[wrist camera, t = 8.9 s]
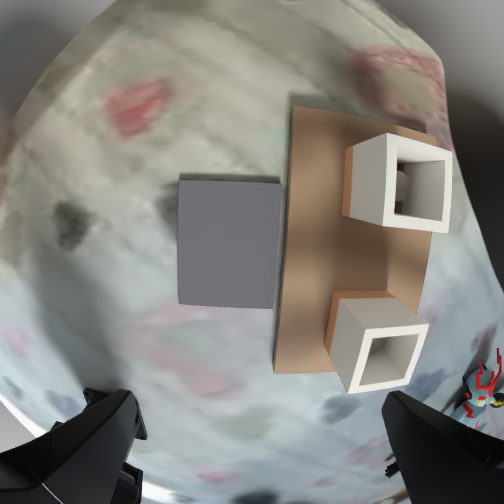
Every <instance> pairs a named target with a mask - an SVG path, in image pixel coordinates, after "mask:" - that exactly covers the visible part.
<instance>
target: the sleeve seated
mask: <svg viewBox="0 0 504 504" xmlns="http://www.w3.org/2000/svg"><path fill="white" fill-rule="evenodd" d="M428 327H429V323H428V322H427V321H425V320H424V319H423V318H422V317H420V316H419V315H418V314H417V313H415V312H414V311H413V310H411V309H410V308H409V307H407V306H406V305H405V304H404V303H402V302H401V301H400V300H398V299H397V298H396V297H394V296H393V295H392V294H390V293H389V292H388V291H333V296H332V302H331V308H330V315H329V320H328V326H327V332H326V337H325V342H324V347H325V349H326V351H327V353H328V355H329V357H330V359H331V361H332V363H333V365H334V367H335V369H336V371H337V373H338V376H339V378H340V380H341V382H342V384H343V386H344V388H345V390H346V392H347V394H352V393H360V392H367V391H374V390H380V389H386V388H391V387H397V386H402V385H407V384H408V383H409V381H410V378H411V376H412V373H413V371H414V368H415V365H416V363H417V360H418V357H419V354H420V352H421V349H422V346H423V343H424V340H425V337H426V333H427V330H428ZM381 337H386V339H385V342H384V344H383V345H382V347H381V348H379V349H378V350H376V351H374V352H369V350H370V347H371V343H372V339H373V338H381Z"/></svg>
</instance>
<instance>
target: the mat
mask: <svg viewBox="0 0 504 504" xmlns="http://www.w3.org/2000/svg"><path fill="white" fill-rule="evenodd" d="M280 201H281V184H273V183H257V182H237V181H203V180H179V192H178V296H179V304H186V305H200V306H217V307H236V308H262V309H273V299H274V287H275V274H276V261H277V247H278V233H279V218H280Z"/></svg>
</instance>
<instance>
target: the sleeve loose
mask: <svg viewBox="0 0 504 504" xmlns="http://www.w3.org/2000/svg"><path fill="white" fill-rule="evenodd" d="M397 171H401V172H403V173H404V174H405V175H406V176H407V177H408V179H409V181H410V193H409V195H408V197H407V198H406V199H405V200H403V201H395V192H396V172H397ZM451 192H452V152H450V151H447V150H444V149H441V148H438V147H435V146H432V145H429V144H426V143H423V142H419V141H416V140H412V139H409V138H405V137H401V136H398V135H394V134H390V133H385V134H382V135H379V136H377V137H374V138H372V139H369V140H366V141H364V142H361V143H359V144H356V145H354V146H351V147H349V148H346V149H345V167H344V186H343V202H342V214H341V215H343V216H347V217H351V218H355V219H358V220H362V221H366V222H370V223H373V224H377V225H381V226H387V227H397V228H406V229H415V230H424V231H432V232H440V233H448V228H449V218H450V207H451Z"/></svg>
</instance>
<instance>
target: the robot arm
mask: <svg viewBox="0 0 504 504" xmlns="http://www.w3.org/2000/svg"><path fill="white" fill-rule="evenodd" d="M83 394H84V397H85V399H86V402H87V405H86V407H85V408H84V410H83V411H82V413H80V414H78V415H77V416H75V417H73V418H72V419H70V420H67V421H66V422H65V423H61V422H58V421H56V422H55V424H54V425H53V427H52V428H51V430H50V431H49V432H47V433H45V434H44V435H42V436H40V437H38V438H36V439H34V440H32V441H30V442H27V443H25V444H23V445H20V446H18V447H15V448H13V449H10V450H7V451H4V452H2V453H0V504H140V503H141V496H142V479H143V471H142V470H140V469H137V468H135V467H133V466H132V465H130V464H128V463H126V460H127V457H128V455H129V452H130V449H131V447H132V444H133V441H134V439H135V438H136V439H140V440H147V437H148V436H147V433H146V430H145V427H144V423H143V420H142V417H141V413H140V410H139V406H138V403H137V402H136V401H135V399H134V395H133V393H132V391H130V390H126V389H119V390H118V391H116V392H114V393H113V394H111V395H110V394H106V393H102V392H98V391H94V390H91V389H87V388H86V389H84V391H83ZM382 416H383V419H384V423H385V427H386V431H387V434H388V438H389V442H390V445H391V448H392V451H393V453H394V456H395V458H396V461H397V464H398V466H399V469H400V472H401V475H402V477H403V480H404V483H405V486H406V489H407V492H408V495H409V497H410V500H411V503H412V504H504V440H501V439H498V438H495V437H492V436H490V435H487V434H484V433H482V432H480V431H477V430H475V429H473V428H471V427H469V426H468V427H467V425H465V424H463V423H461V422H459V421H457V420H455V419H453V418H451V417H449V416H447V415H445V414H443V413H441V412H439V411H437V410H435V409H433V408H431V407H429V406H427V405H426V404H424V403H422V402H420V401H418V400H416V399H414V398H412V397H411V396H409V395H407V394H405V393H403V392H401V391H399V390H397V391H392V392H389V393H388V395H387V397H386V400H385V402H384V404H383V406H382Z"/></svg>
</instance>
